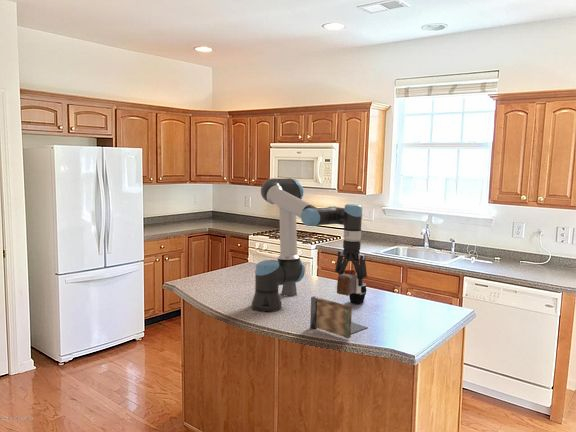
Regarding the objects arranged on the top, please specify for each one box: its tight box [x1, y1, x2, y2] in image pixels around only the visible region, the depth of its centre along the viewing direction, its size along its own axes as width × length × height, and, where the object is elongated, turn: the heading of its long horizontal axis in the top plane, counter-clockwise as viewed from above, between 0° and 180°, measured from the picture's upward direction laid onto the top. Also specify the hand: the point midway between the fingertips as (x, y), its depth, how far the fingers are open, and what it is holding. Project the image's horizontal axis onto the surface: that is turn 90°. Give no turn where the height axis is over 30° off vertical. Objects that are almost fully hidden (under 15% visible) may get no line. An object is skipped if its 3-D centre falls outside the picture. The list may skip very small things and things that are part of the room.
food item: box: [336, 269, 364, 296], centre depth 204 cm, size 14×8×10 cm, turn 150°
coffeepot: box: [281, 282, 298, 297], centre depth 259 cm, size 15×9×18 cm, turn 113°
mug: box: [349, 282, 367, 305], centre depth 247 cm, size 12×9×10 cm
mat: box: [351, 321, 369, 335], centre depth 206 cm, size 11×16×1 cm
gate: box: [316, 297, 353, 339], centre depth 197 cm, size 17×2×13 cm, turn 47°
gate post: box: [309, 295, 319, 330], centre depth 205 cm, size 3×3×14 cm
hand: (349, 290), depth 205 cm, fingers closed on food item, 8 cm apart
